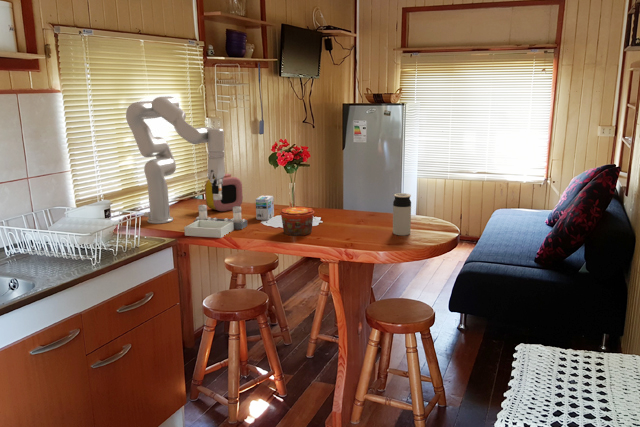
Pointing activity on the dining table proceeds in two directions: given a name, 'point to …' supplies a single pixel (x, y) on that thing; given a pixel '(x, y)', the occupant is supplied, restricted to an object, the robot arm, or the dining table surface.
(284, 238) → the dining table surface
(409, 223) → the travel mug
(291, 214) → the food container
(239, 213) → the right fuse
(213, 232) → the tray
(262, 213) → the light bulb box
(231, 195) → the alarm clock
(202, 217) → the left fuse
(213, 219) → the fuse block
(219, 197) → the marked fuse
